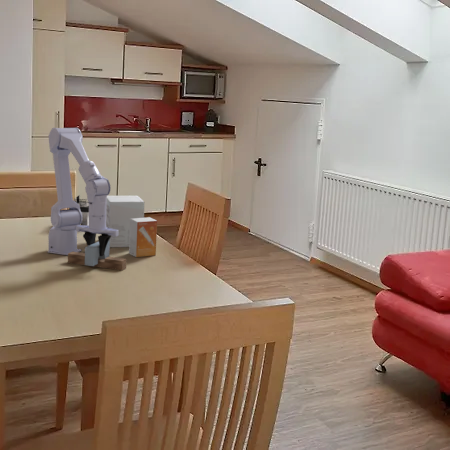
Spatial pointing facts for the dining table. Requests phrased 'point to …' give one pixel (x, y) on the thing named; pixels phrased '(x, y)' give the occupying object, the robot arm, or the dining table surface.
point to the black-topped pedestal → (83, 210)
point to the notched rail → (103, 263)
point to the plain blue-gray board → (95, 253)
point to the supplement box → (122, 217)
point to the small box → (142, 237)
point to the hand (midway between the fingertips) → (96, 254)
